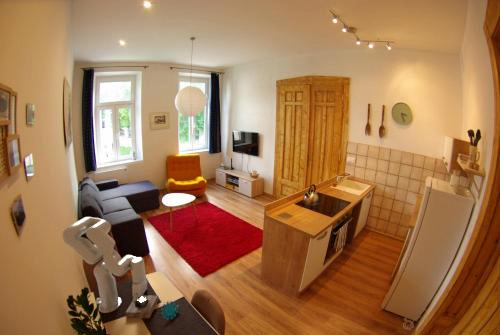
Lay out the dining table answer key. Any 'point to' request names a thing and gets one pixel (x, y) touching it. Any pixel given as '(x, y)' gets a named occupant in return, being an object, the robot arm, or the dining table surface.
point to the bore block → (142, 312)
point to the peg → (143, 302)
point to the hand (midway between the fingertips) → (141, 301)
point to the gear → (169, 310)
